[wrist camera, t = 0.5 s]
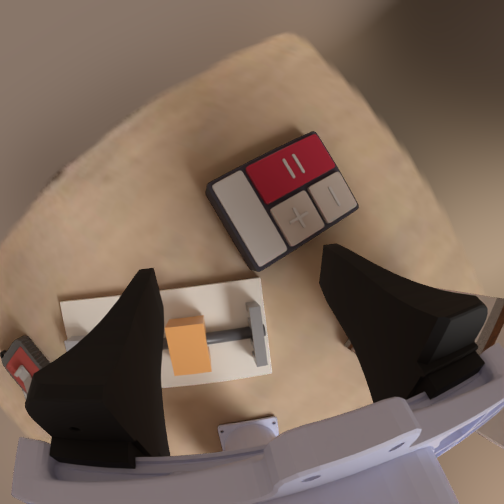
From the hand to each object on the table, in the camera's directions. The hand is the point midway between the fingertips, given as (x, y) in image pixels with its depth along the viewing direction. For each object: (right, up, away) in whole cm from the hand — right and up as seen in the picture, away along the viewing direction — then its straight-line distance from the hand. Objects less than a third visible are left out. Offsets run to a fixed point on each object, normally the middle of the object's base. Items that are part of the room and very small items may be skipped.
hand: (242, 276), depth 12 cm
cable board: (-10, -10, +21) cm, 25 cm away
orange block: (-7, -9, +20) cm, 23 cm away
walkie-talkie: (-28, -19, +19) cm, 39 cm away
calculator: (+4, +7, +24) cm, 25 cm away
